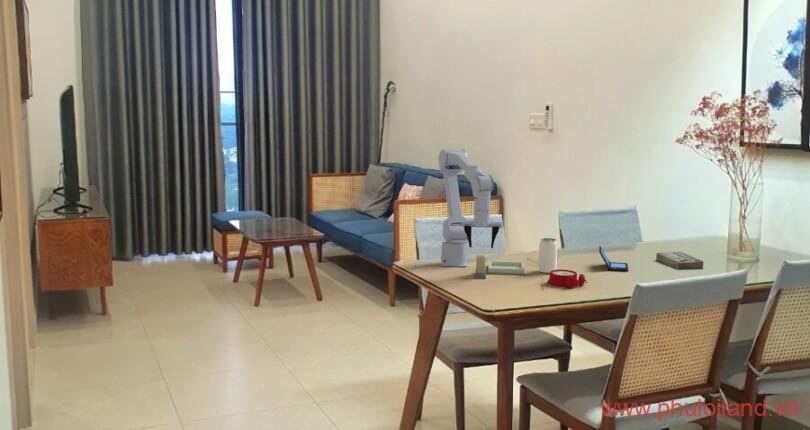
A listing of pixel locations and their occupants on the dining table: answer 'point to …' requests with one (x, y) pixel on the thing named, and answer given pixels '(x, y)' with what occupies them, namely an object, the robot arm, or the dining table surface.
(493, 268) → the tray
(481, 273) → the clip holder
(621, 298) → the dining table surface
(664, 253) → the box
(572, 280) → the alarm clock
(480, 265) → the carton
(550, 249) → the can
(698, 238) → the dining table surface
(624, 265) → the handheld game console
